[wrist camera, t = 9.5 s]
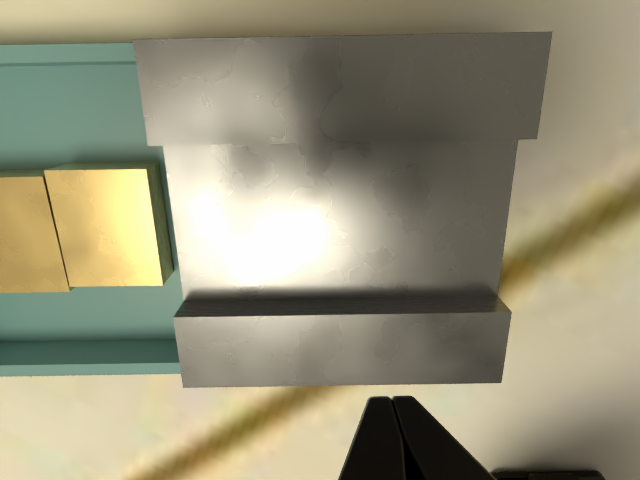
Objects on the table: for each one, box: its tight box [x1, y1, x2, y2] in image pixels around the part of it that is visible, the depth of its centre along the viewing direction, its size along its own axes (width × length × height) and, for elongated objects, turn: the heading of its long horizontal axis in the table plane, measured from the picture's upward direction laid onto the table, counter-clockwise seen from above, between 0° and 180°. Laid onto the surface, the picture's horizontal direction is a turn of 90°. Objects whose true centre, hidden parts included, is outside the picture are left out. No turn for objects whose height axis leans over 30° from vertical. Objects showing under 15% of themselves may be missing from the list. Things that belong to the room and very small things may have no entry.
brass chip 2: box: [44, 161, 174, 287], centre depth 19 cm, size 5×4×2 cm
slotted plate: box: [133, 32, 552, 388], centre depth 18 cm, size 14×14×4 cm
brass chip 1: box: [0, 168, 75, 293], centre depth 19 cm, size 5×4×2 cm
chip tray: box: [0, 43, 184, 376], centre depth 19 cm, size 14×11×2 cm
